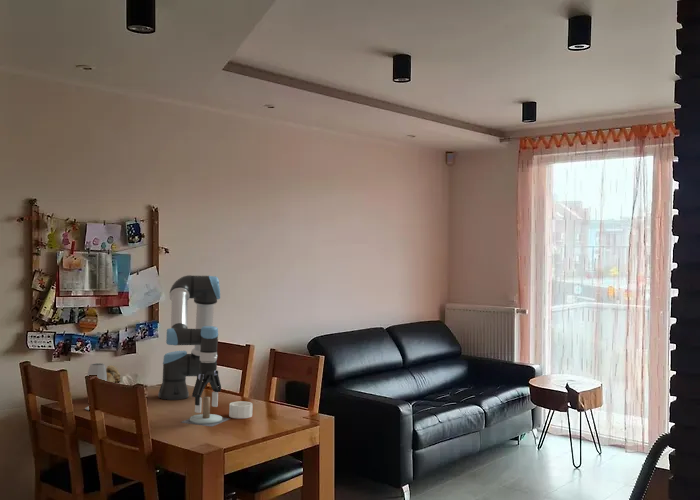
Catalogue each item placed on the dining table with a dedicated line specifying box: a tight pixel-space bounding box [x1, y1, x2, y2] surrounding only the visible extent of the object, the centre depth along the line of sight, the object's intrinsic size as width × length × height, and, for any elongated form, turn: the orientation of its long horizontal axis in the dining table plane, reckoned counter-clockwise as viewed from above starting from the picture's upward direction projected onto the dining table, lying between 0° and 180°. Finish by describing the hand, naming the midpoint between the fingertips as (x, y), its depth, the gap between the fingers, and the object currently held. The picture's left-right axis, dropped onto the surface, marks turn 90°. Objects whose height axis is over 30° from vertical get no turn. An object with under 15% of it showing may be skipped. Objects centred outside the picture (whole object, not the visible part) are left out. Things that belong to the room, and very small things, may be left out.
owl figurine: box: [106, 364, 121, 384], centre depth 329 cm, size 18×12×17 cm, turn 21°
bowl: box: [228, 401, 253, 419], centre depth 303 cm, size 10×10×6 cm
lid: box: [189, 396, 223, 425], centre depth 292 cm, size 14×14×10 cm
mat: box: [180, 417, 231, 427], centre depth 291 cm, size 16×16×1 cm
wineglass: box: [84, 362, 107, 411], centre depth 307 cm, size 9×9×21 cm
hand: (206, 409), depth 292 cm, fingers open, 13 cm apart
